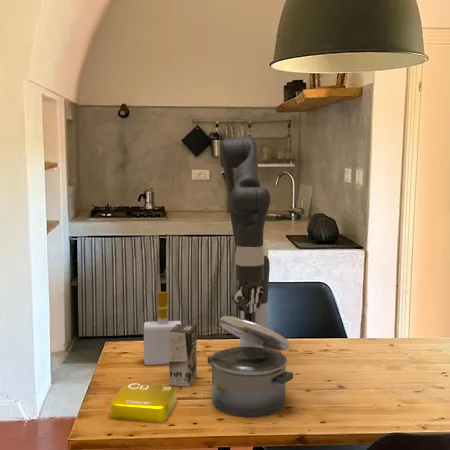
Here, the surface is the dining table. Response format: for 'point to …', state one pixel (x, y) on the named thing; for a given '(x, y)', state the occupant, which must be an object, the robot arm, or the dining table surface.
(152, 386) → the element tile
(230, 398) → the cooker pot
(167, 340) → the soap bottle
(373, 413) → the dining table surface
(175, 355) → the coffee box
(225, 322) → the cooker lid
